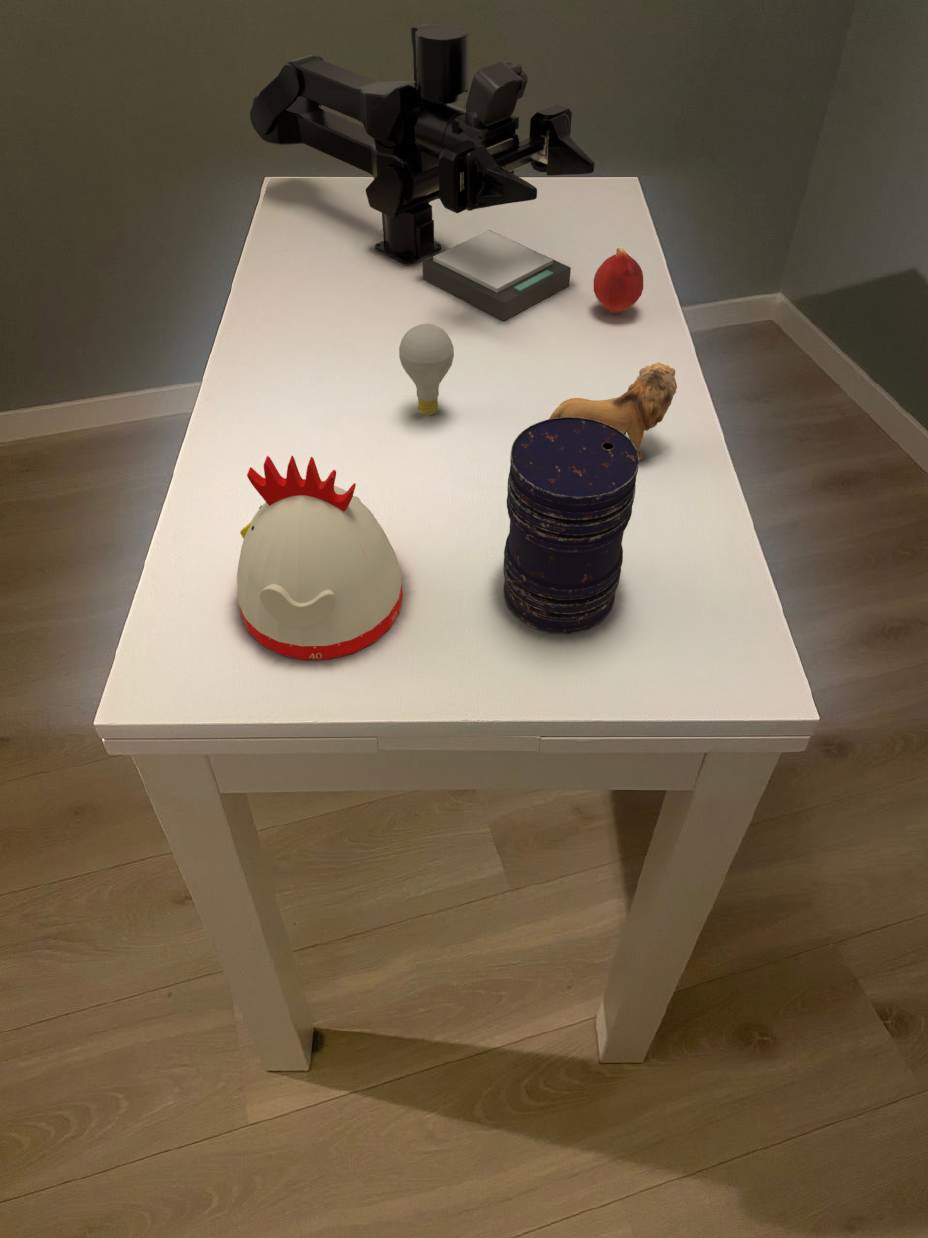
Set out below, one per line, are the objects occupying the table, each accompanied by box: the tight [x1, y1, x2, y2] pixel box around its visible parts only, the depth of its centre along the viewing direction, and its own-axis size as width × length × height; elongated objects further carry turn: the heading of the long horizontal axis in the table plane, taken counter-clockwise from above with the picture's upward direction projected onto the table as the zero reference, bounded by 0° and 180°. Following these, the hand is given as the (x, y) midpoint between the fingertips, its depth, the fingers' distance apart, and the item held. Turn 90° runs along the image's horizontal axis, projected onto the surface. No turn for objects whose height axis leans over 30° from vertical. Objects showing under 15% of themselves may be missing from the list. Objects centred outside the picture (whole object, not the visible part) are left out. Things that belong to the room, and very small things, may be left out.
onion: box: [593, 247, 644, 314], centre depth 109 cm, size 6×6×8 cm
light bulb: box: [398, 323, 455, 416], centre depth 95 cm, size 6×6×10 cm
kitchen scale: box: [422, 229, 572, 322], centre depth 116 cm, size 14×12×3 cm
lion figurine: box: [548, 362, 678, 462], centre depth 91 cm, size 15×5×9 cm, turn 110°
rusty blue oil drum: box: [502, 417, 640, 635], centre depth 76 cm, size 10×10×15 cm
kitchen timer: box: [236, 455, 404, 661], centre depth 75 cm, size 14×14×15 cm
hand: (565, 180), depth 99 cm, fingers open, 9 cm apart
